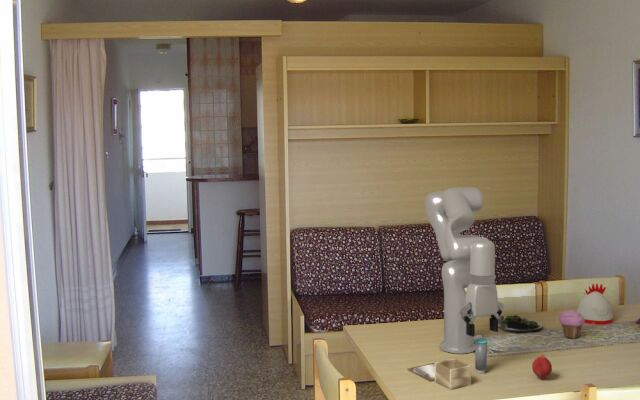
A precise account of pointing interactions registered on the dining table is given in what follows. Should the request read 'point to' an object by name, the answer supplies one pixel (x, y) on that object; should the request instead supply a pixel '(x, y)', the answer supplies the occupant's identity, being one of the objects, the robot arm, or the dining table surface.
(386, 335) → the dining table surface
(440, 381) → the wooden box
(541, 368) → the onion
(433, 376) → the clipboard
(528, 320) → the salad plate
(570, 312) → the cupcake
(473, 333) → the robot arm
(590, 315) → the white and red dome
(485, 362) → the cylinder
